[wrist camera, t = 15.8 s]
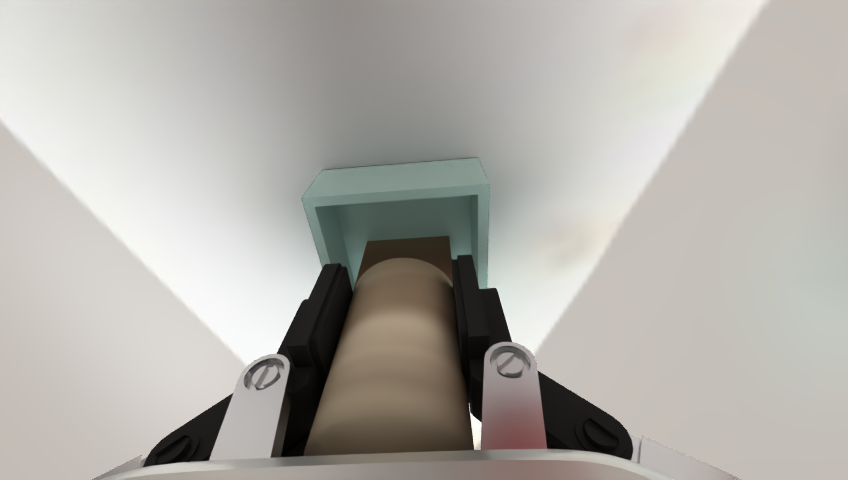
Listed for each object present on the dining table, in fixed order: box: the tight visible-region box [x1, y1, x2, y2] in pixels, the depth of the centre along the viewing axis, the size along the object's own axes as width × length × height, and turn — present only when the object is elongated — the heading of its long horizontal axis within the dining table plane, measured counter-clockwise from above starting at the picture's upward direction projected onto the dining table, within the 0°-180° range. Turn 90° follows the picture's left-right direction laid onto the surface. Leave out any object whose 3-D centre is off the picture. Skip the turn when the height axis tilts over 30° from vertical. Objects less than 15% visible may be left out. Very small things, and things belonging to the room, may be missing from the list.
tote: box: [301, 158, 489, 290], centre depth 16 cm, size 10×7×3 cm, turn 5°
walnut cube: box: [353, 236, 453, 293], centre depth 16 cm, size 4×4×4 cm
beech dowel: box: [304, 258, 474, 456], centre depth 10 cm, size 4×4×6 cm
